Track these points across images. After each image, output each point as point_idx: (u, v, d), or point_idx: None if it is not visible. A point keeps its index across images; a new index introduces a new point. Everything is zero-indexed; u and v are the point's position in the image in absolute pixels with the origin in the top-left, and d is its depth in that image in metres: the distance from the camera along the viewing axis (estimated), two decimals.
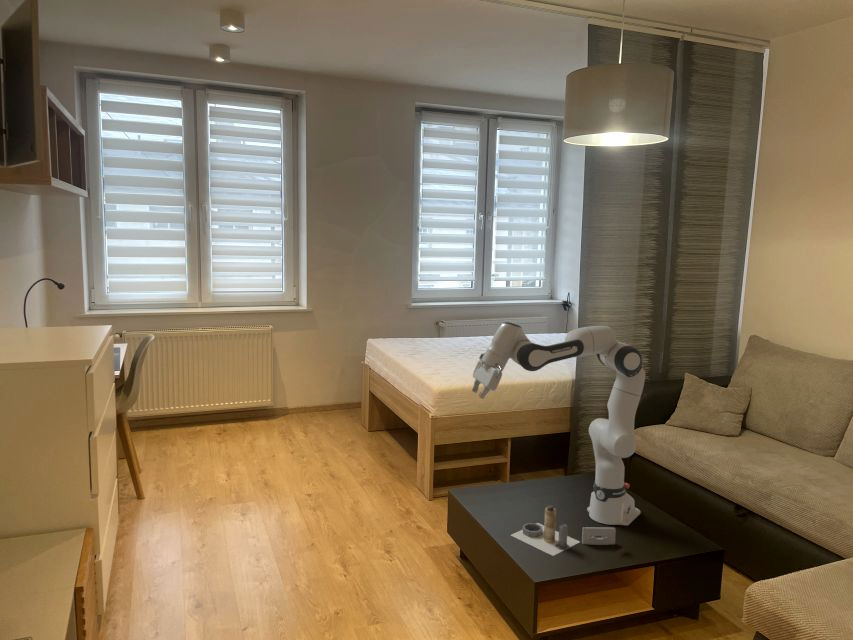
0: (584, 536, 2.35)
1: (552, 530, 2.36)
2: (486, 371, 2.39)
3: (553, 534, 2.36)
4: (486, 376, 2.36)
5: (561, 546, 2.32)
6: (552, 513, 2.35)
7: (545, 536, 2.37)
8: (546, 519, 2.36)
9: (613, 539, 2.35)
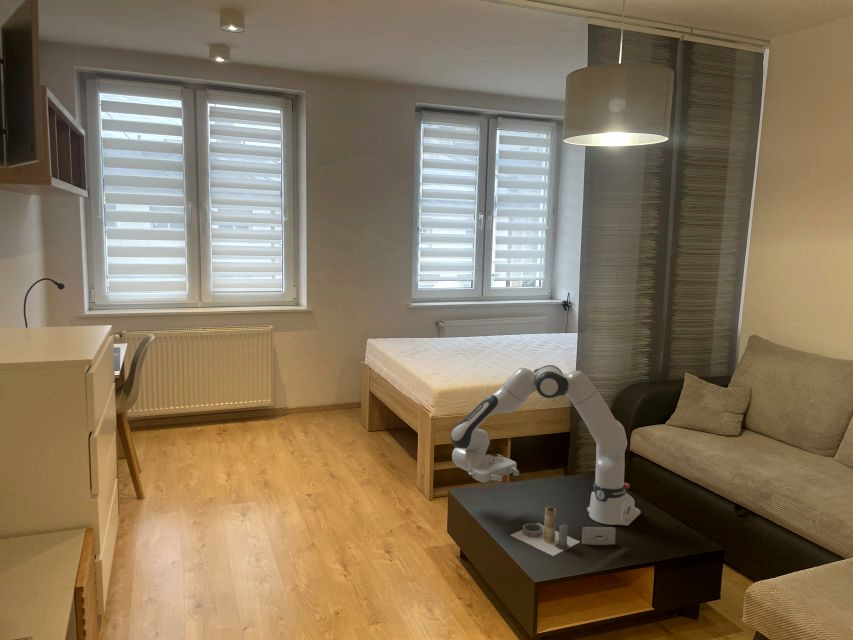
0: (584, 536, 2.35)
1: (552, 530, 2.36)
2: None
3: (553, 534, 2.36)
4: None
5: (561, 546, 2.32)
6: (552, 513, 2.35)
7: (545, 536, 2.37)
8: (546, 519, 2.36)
9: (613, 539, 2.35)
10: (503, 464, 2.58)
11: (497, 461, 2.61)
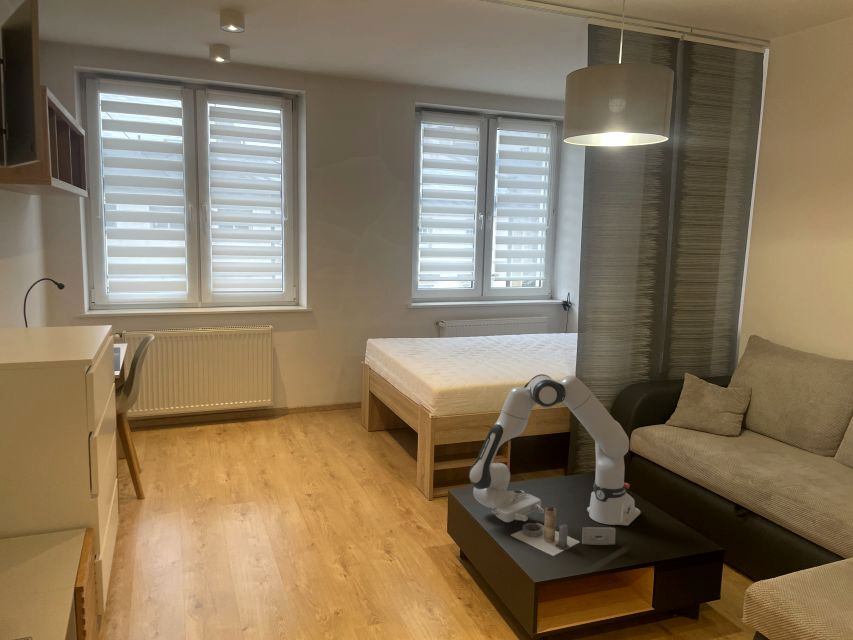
0: (584, 536, 2.35)
1: (552, 530, 2.36)
2: None
3: (553, 534, 2.36)
4: None
5: (561, 546, 2.32)
6: (552, 513, 2.35)
7: (545, 536, 2.37)
8: (546, 519, 2.36)
9: (613, 539, 2.35)
10: (527, 502, 2.50)
11: (521, 498, 2.53)
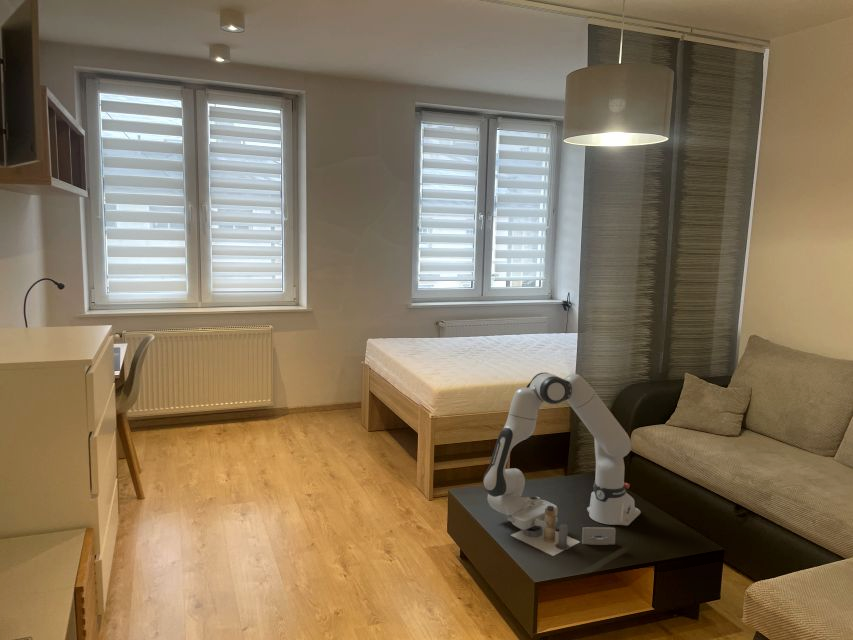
0: (584, 536, 2.35)
1: (552, 530, 2.36)
2: None
3: (553, 534, 2.36)
4: None
5: (561, 546, 2.32)
6: (552, 513, 2.35)
7: (545, 536, 2.37)
8: (546, 519, 2.36)
9: (613, 539, 2.35)
10: (543, 508, 2.44)
11: (537, 505, 2.47)
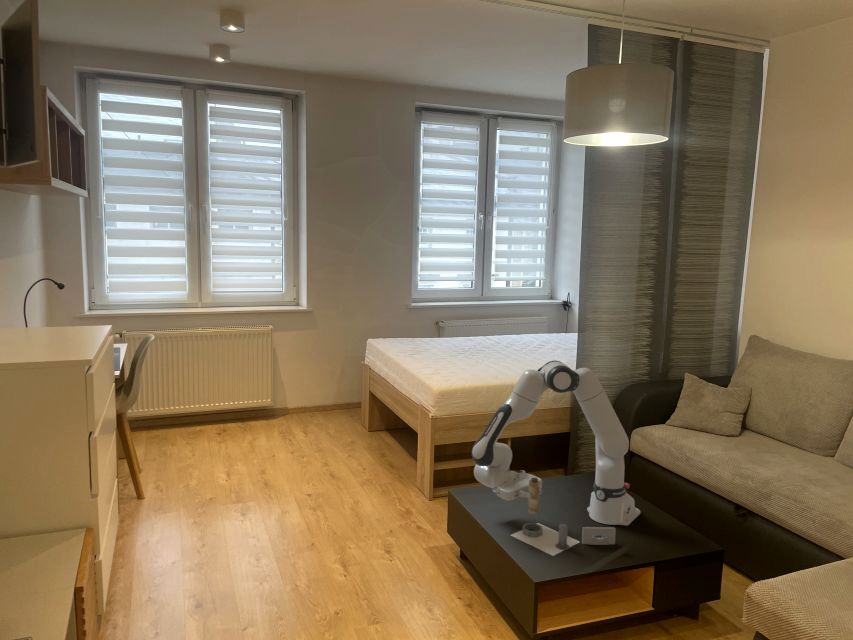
0: (584, 536, 2.35)
1: (536, 501, 2.40)
2: None
3: (536, 506, 2.40)
4: None
5: (561, 546, 2.32)
6: (536, 485, 2.39)
7: (529, 507, 2.41)
8: (530, 490, 2.40)
9: (613, 539, 2.35)
10: (528, 481, 2.48)
11: (521, 478, 2.51)
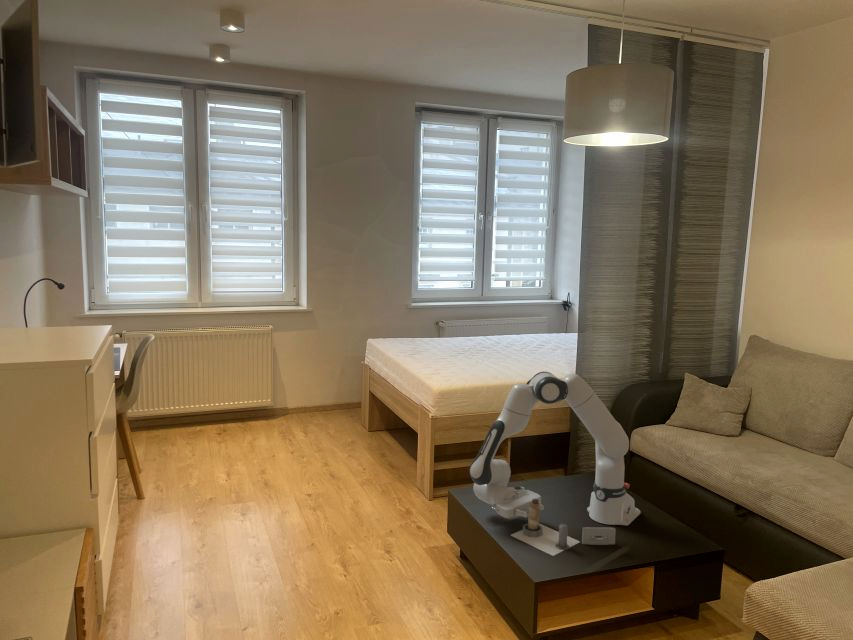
0: (584, 536, 2.35)
1: (536, 522, 2.41)
2: None
3: (536, 527, 2.42)
4: None
5: (561, 546, 2.32)
6: (536, 506, 2.40)
7: (528, 528, 2.43)
8: (530, 512, 2.41)
9: (613, 539, 2.35)
10: (527, 498, 2.50)
11: (521, 494, 2.52)
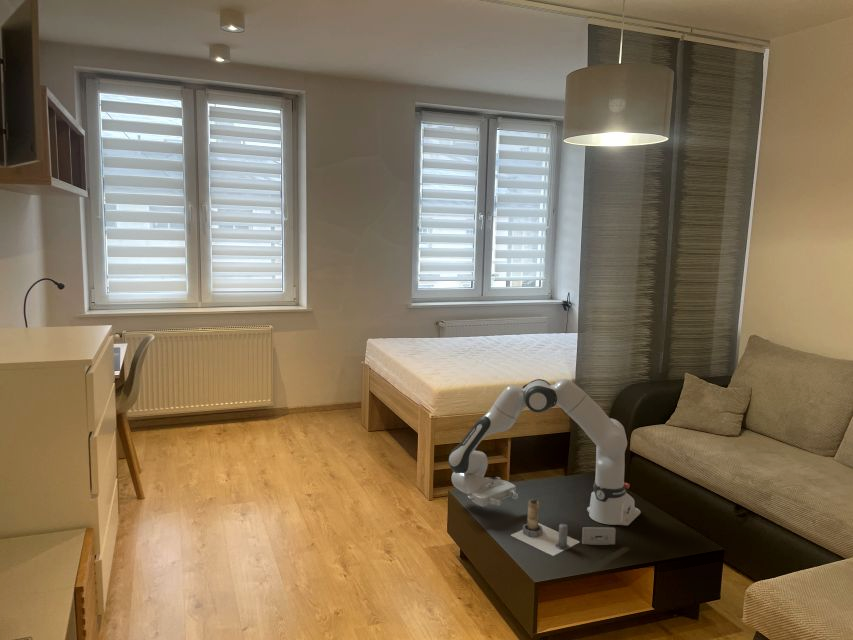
0: (584, 536, 2.35)
1: (535, 522, 2.42)
2: None
3: (536, 526, 2.42)
4: None
5: (561, 546, 2.32)
6: (535, 505, 2.40)
7: (528, 528, 2.43)
8: (529, 511, 2.42)
9: (613, 539, 2.35)
10: (502, 487, 2.59)
11: (496, 484, 2.62)
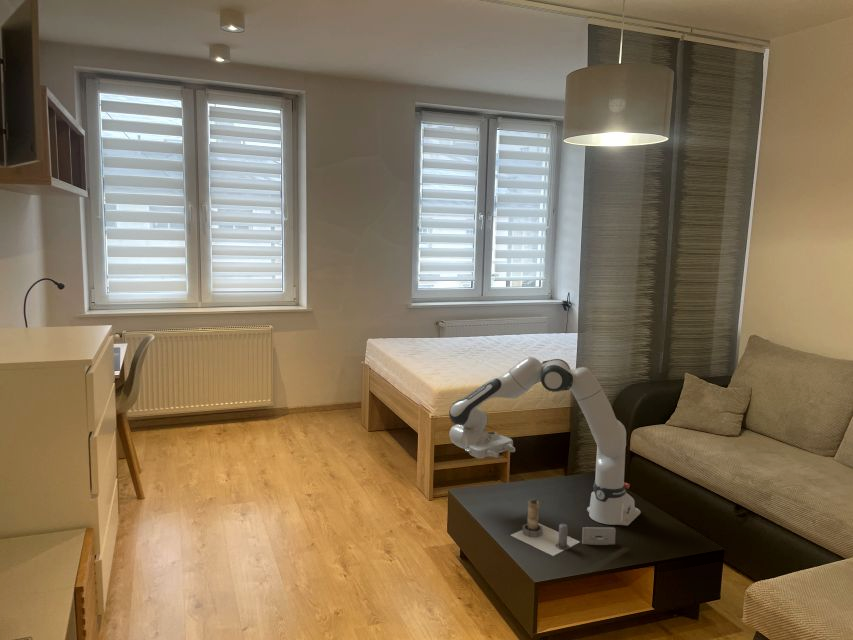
0: (584, 536, 2.35)
1: (535, 522, 2.42)
2: None
3: (536, 526, 2.42)
4: None
5: (561, 546, 2.32)
6: (535, 505, 2.40)
7: (528, 528, 2.43)
8: (529, 511, 2.42)
9: (613, 539, 2.35)
10: (499, 441, 2.61)
11: (494, 439, 2.64)
